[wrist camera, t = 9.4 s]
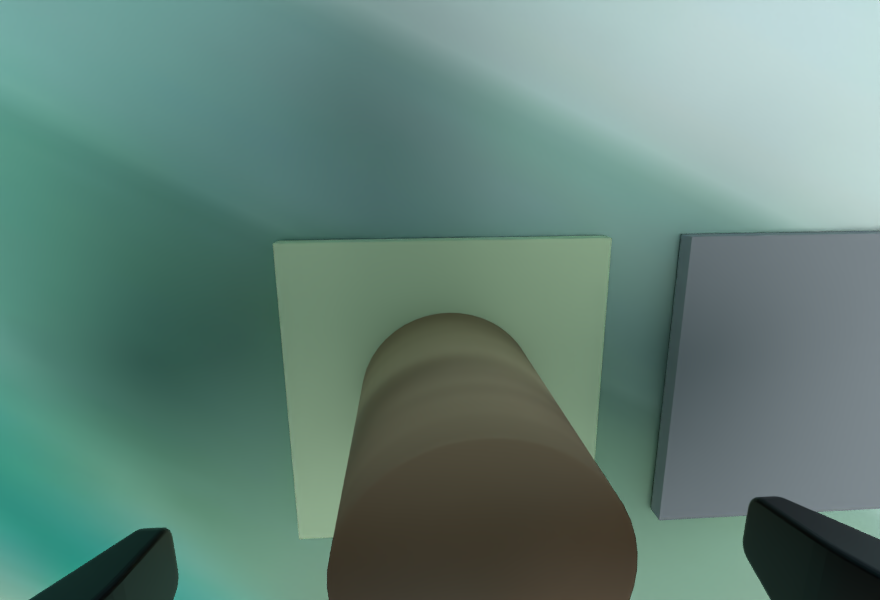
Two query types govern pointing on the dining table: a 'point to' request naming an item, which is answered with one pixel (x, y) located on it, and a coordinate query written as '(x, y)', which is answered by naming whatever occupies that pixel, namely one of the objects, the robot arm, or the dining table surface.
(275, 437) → the dining table surface
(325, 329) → the pad
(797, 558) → the robot arm
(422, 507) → the brown wooden dowel
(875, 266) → the pad
